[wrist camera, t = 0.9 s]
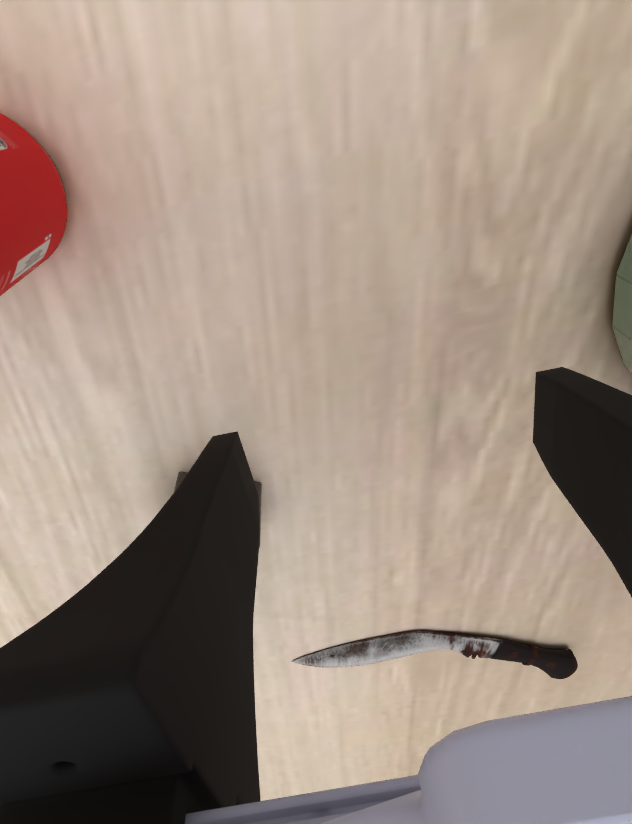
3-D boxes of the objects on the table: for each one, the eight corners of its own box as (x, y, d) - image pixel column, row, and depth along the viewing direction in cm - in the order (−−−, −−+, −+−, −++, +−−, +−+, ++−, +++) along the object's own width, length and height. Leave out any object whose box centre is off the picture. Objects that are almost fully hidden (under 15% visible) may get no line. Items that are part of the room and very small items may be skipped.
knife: (293, 698, 34) (290, 647, 32) (293, 678, 36) (290, 628, 33) (572, 685, 35) (589, 633, 32) (562, 666, 36) (579, 615, 34)
